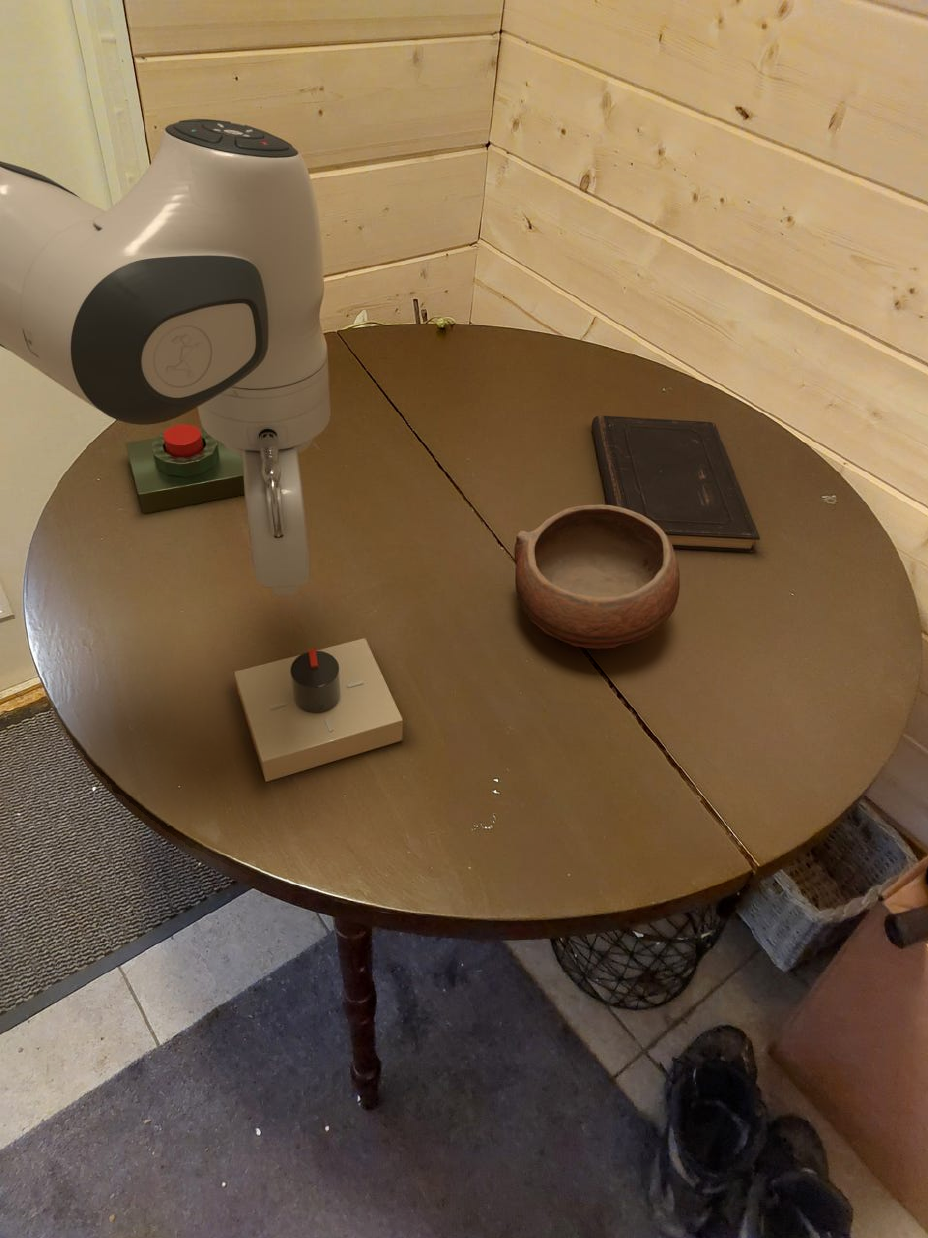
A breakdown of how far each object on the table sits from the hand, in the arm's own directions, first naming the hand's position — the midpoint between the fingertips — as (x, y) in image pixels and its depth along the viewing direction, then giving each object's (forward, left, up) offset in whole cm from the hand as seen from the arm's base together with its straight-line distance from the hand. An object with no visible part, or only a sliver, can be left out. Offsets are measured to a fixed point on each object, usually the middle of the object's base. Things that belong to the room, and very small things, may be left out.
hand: (281, 547), depth 66 cm
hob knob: (0, -6, -12) cm, 13 cm away
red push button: (-4, +32, -11) cm, 34 cm away
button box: (-4, +32, -15) cm, 36 cm away
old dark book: (+49, +13, -15) cm, 53 cm away
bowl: (+29, -3, -15) cm, 33 cm away
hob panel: (0, -6, -15) cm, 16 cm away
